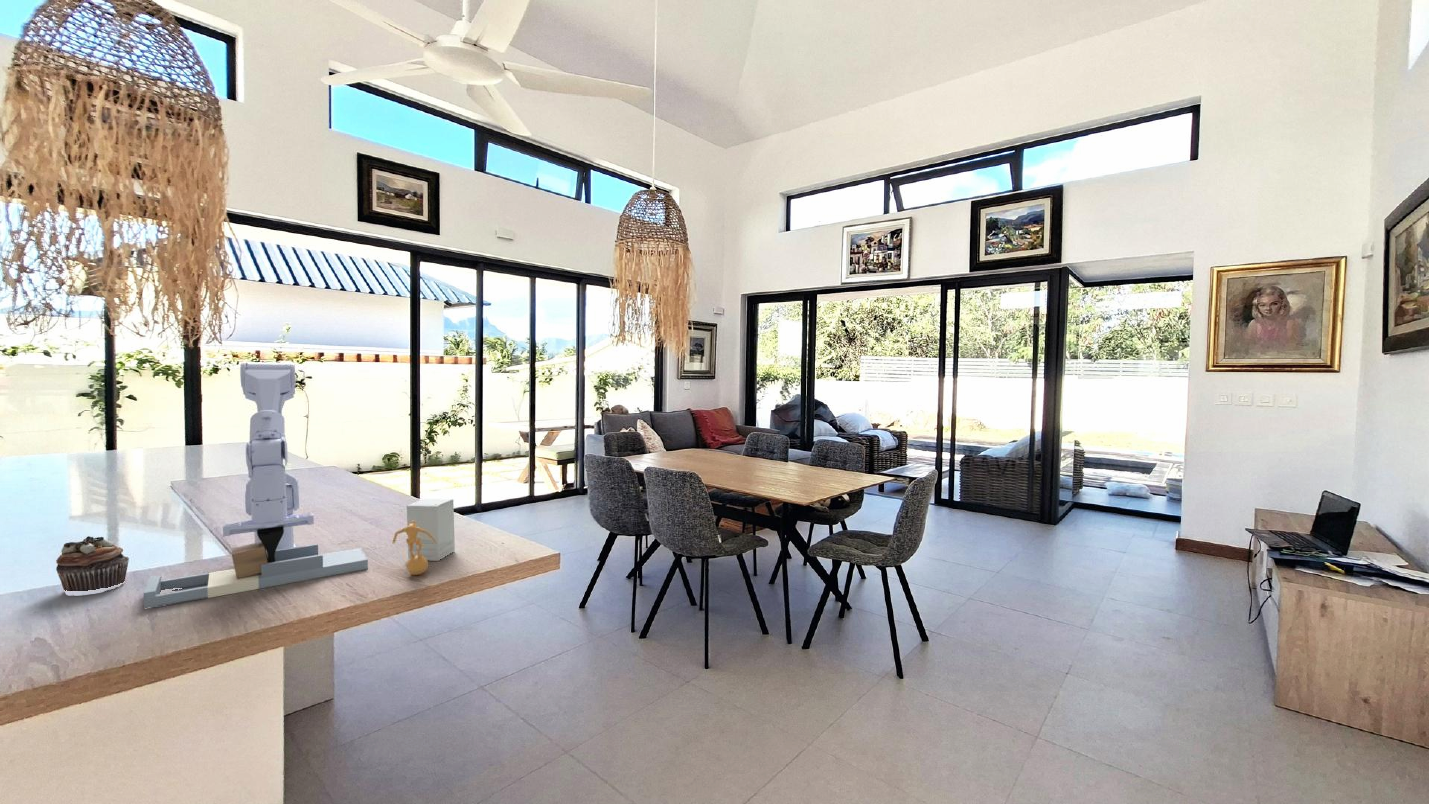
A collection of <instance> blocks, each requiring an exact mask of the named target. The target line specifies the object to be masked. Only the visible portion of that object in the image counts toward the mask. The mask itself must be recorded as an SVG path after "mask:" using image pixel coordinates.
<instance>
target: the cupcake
mask: <svg viewBox="0 0 1429 804" xmlns="http://www.w3.org/2000/svg"><path fill="white" fill-rule="evenodd" d="M123 551H124V549H123V548H122V547H120V546H118V545H115V544H114V542H112V541H109V540H107V539H105V538H104V536H98V537H94V536H90V535H89V536H86V537H85V538H84V539H83V540H82V541H77V542H75V541H74V542H73V541H70V542H66V543H64V544H63V547H62V548H61V552H60V553H61V554H60V555H59V556H58V557H57V559H55V560H56V561H55V562H56V564H57V565H56V569H55V571H56V572H57V576H58V578H59V580H60V583H61V585H62V589H63V591H64V590H65V591H66V590H67V591H88V590H96V589H100V588H108V587H111V586H114V585H118V584H120V583H123V582H124V581H125V582H126V577H127V571H128V566H129V561H130V558H129V557H128V556H125V555H124V554H123Z"/></svg>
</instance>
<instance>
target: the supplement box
mask: <svg viewBox="0 0 1429 804" xmlns="http://www.w3.org/2000/svg"><path fill="white" fill-rule="evenodd" d="M454 505H455V504H454V499H453V498H427V497H426V498H425V497H424V498H422V499H420V500H417V501H415V502H413V503H412V502H411V503H410V504H407V505H406V520H407V522H406V523H407V526H408V525H409V524H410V523H411V521H413V520H414V521H415V522H416V526H417V527H419V528H421V529H423V530H425V531H427V532H429V534H430V535H432V536H433V538H434V539H435V542H436V543H435V542H434V540H433V539H432V538H430V537H429V536H428V535H427V534H426V533H422V532H419V531H418V534H417V539H418V538H420V539H421V540H420V541H421V543H422V547H421V551H420V555H422V556H423V557H425V558H426V559H427V561H430V562H431V561H435V562H438V561H441V560H442V559H444V558H446V557H447V555H448V556H449V555H451V554H453V553H454V552H455V551H456V549H455V548H456V547H455V545H456V544H455V515H454V513H455V510H454V507H455V506H454ZM407 526H406V527H407ZM407 538H409V537H408V536H407ZM418 548H419V546H418V545H416V542H414V544H413V551H412V553H413V555H415V556H417V555H418V554H417V549H418ZM407 549H408V550H407V553H408V560H409V559H410V558H411V555H410V552H409V549H410V546H409V545H408V544H407ZM452 552H453V553H452ZM450 553H451V554H450ZM445 556H446V557H445ZM440 559H441V560H440Z"/></svg>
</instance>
